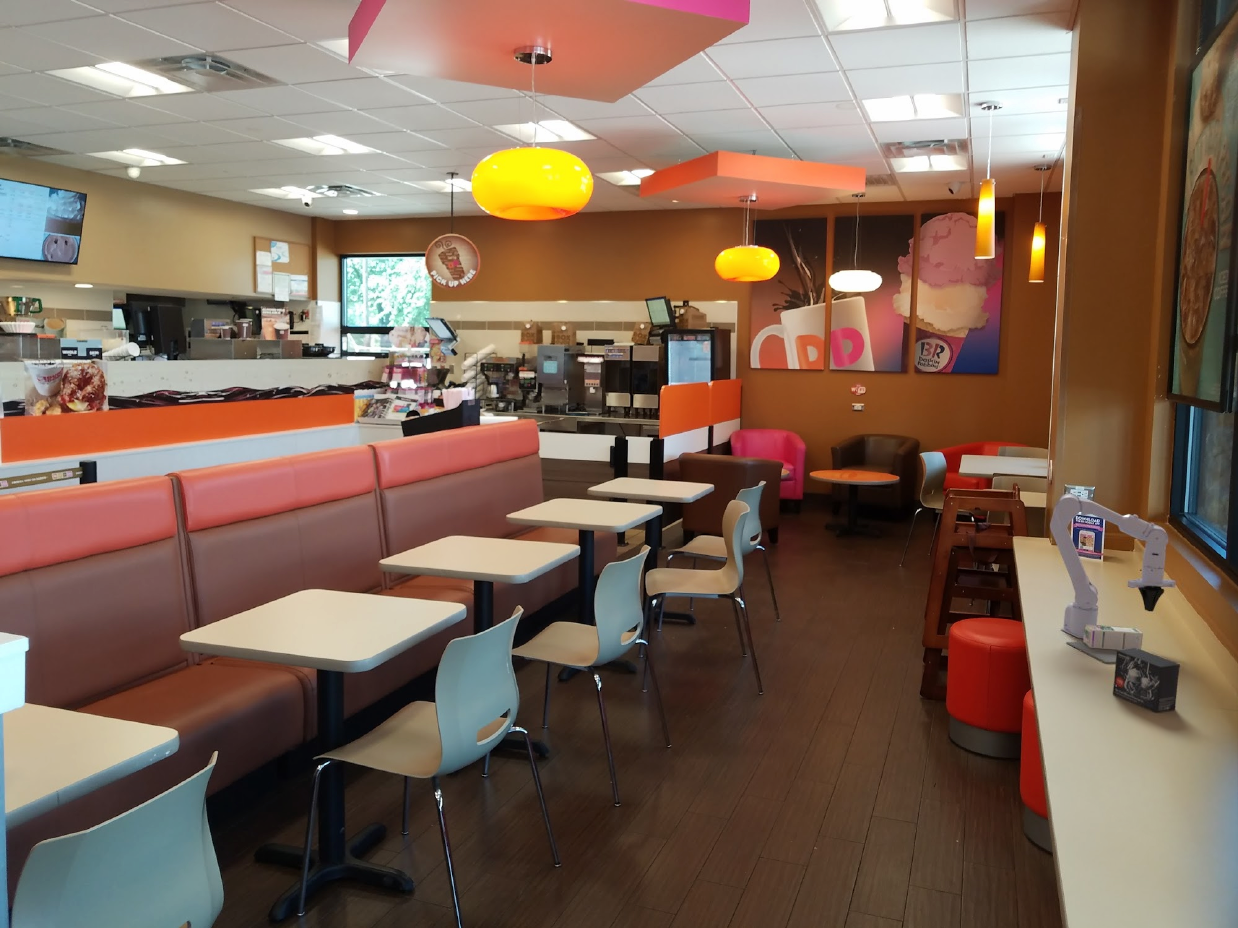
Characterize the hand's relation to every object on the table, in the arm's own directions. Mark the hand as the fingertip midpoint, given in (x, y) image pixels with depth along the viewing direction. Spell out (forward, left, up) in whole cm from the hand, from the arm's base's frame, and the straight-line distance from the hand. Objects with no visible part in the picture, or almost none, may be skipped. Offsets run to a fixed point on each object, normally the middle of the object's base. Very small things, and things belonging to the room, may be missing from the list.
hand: (1148, 610), depth 286 cm
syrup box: (+6, -7, -7) cm, 12 cm away
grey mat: (+7, -17, -10) cm, 21 cm away
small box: (+44, -35, -11) cm, 57 cm away
